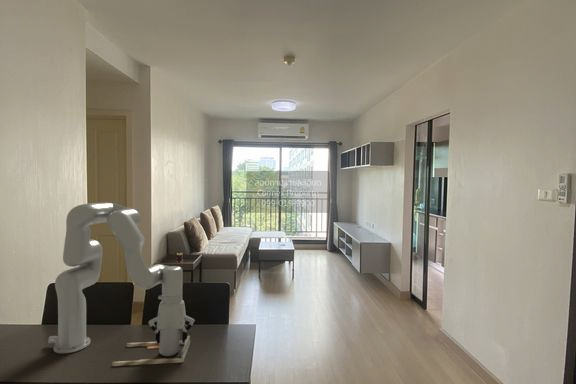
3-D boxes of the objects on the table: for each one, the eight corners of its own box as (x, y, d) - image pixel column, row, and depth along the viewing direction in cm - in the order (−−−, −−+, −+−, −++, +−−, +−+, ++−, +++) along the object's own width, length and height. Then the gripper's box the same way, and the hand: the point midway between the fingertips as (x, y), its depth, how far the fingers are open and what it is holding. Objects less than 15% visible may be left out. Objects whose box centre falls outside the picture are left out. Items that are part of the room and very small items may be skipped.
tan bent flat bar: (112, 366, 118) (112, 356, 118) (127, 345, 133) (127, 337, 133) (183, 362, 121) (183, 353, 121) (190, 343, 136) (190, 334, 136)
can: (182, 348, 132) (183, 319, 132) (174, 358, 124) (176, 327, 124) (163, 347, 132) (165, 317, 132) (155, 356, 124) (156, 325, 124)
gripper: (146, 302, 123) (145, 347, 123) (193, 301, 125) (192, 345, 125) (152, 295, 130) (151, 337, 131) (196, 294, 132) (195, 336, 133)
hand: (171, 341), depth 128 cm, fingers open, 9 cm apart
